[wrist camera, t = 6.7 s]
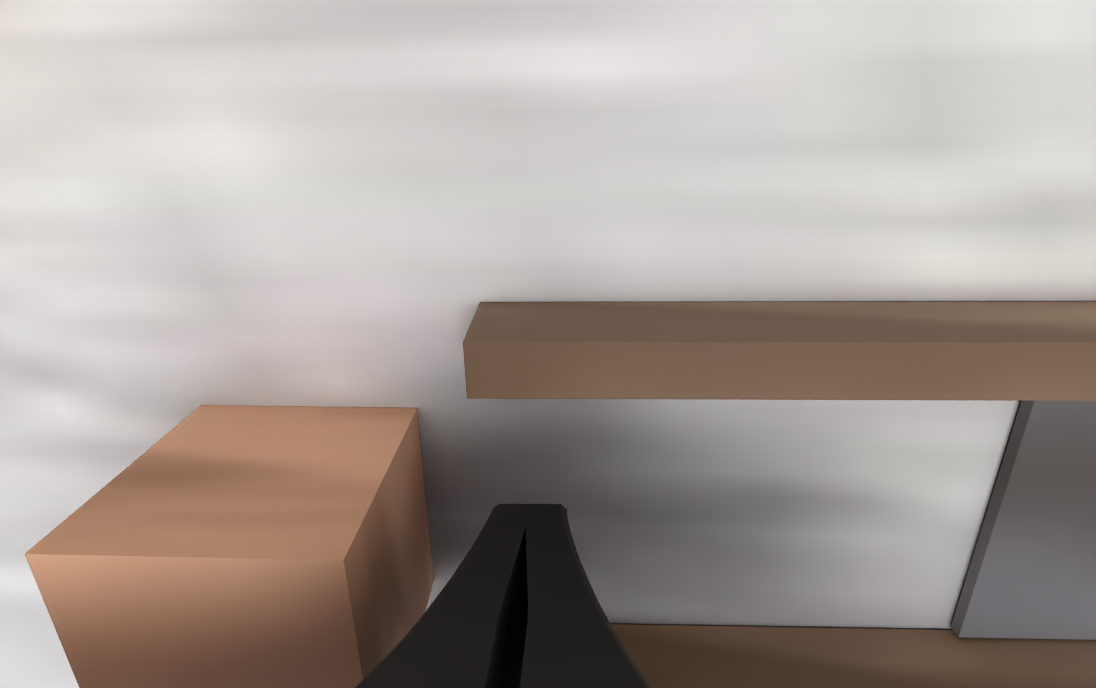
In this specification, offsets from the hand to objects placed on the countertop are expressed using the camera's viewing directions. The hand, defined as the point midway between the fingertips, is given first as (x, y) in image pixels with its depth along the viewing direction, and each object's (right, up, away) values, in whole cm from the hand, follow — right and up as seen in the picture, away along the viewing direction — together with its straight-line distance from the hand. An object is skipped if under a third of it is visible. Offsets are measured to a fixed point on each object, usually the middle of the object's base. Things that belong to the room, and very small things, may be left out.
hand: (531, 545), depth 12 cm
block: (-5, +1, +2) cm, 5 cm away
